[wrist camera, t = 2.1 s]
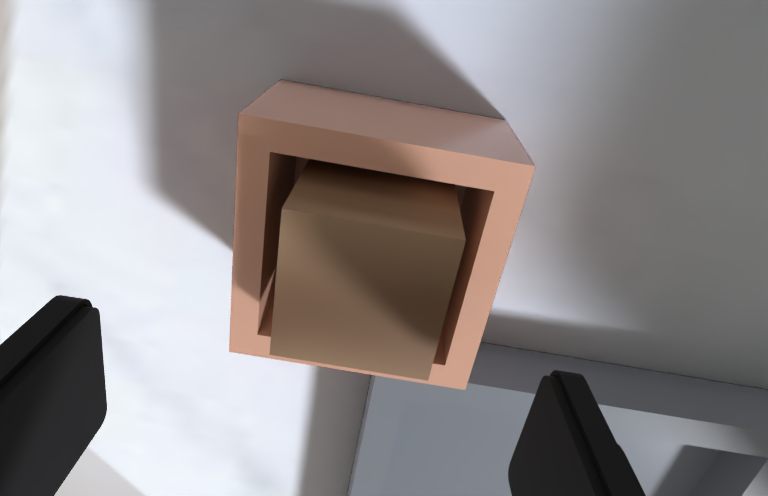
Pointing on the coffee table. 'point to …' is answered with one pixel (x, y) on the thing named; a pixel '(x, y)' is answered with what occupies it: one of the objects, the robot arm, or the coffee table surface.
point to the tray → (510, 410)
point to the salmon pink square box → (387, 154)
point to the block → (365, 269)
